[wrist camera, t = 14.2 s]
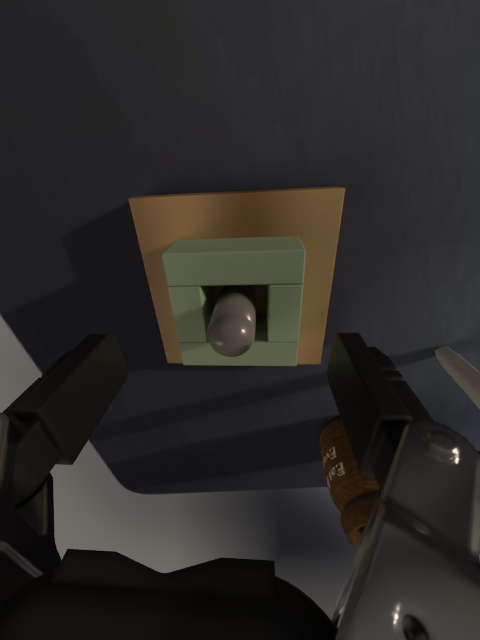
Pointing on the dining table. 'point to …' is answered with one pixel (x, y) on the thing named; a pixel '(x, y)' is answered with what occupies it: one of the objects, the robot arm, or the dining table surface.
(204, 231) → the base pad
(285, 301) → the green square ring block
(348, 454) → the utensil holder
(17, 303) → the dining table surface
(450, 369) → the pen
